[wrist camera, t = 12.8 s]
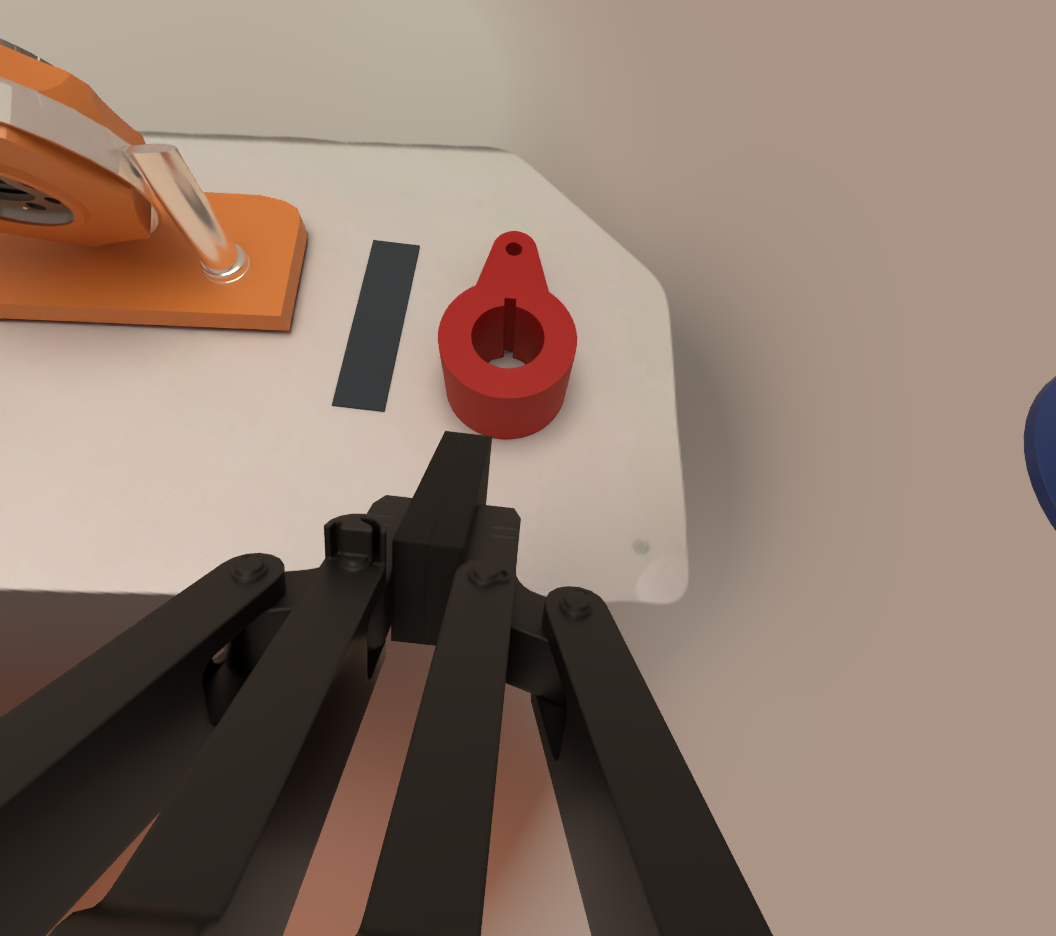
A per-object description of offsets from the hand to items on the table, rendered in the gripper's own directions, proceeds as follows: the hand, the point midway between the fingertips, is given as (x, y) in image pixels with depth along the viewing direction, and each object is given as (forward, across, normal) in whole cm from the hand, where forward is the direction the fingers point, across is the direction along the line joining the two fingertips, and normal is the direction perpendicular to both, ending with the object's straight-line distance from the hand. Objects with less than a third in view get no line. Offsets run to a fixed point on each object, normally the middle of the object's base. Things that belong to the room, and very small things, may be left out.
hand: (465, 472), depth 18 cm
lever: (+30, 0, -2) cm, 30 cm away
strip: (+30, -11, -1) cm, 32 cm away
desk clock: (+31, -33, 0) cm, 45 cm away
